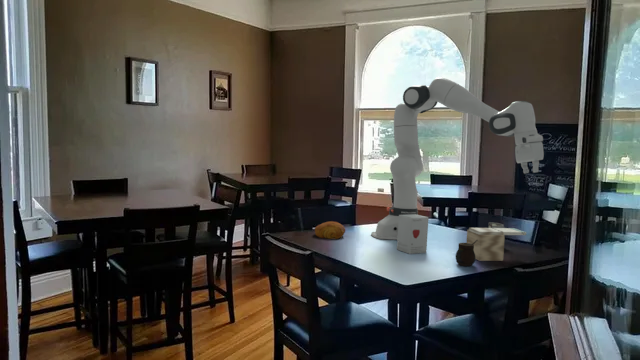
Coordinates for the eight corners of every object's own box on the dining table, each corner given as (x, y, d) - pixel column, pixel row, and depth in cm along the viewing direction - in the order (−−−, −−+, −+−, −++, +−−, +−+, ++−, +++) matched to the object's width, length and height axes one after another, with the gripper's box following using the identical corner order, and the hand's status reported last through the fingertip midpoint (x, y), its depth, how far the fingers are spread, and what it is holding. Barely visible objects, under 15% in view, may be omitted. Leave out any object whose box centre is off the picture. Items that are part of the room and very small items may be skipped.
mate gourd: (453, 262, 192) (455, 236, 192) (473, 263, 192) (475, 237, 191) (456, 266, 185) (458, 239, 184) (477, 268, 184) (479, 241, 184)
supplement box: (409, 254, 203) (411, 217, 202) (396, 249, 211) (398, 214, 210) (427, 253, 207) (429, 216, 206) (413, 248, 215) (415, 213, 214)
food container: (505, 249, 221) (507, 227, 220) (490, 248, 222) (492, 225, 221) (501, 244, 233) (502, 222, 232) (487, 243, 234) (488, 221, 234)
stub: (503, 234, 199) (503, 231, 199) (492, 230, 208) (492, 227, 208) (526, 235, 200) (526, 232, 200) (514, 231, 209) (514, 228, 209)
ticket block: (479, 260, 197) (481, 232, 196) (465, 253, 208) (467, 226, 208) (503, 260, 198) (504, 232, 197) (488, 253, 210) (490, 227, 209)
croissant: (346, 239, 242) (347, 222, 243) (342, 240, 227) (344, 222, 227) (317, 236, 245) (318, 219, 245) (311, 237, 229) (312, 219, 230)
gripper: (509, 143, 218) (514, 174, 218) (528, 137, 198) (533, 172, 197) (524, 141, 218) (528, 172, 218) (544, 135, 198) (549, 170, 197)
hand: (531, 172), depth 207 cm, fingers open, 8 cm apart
